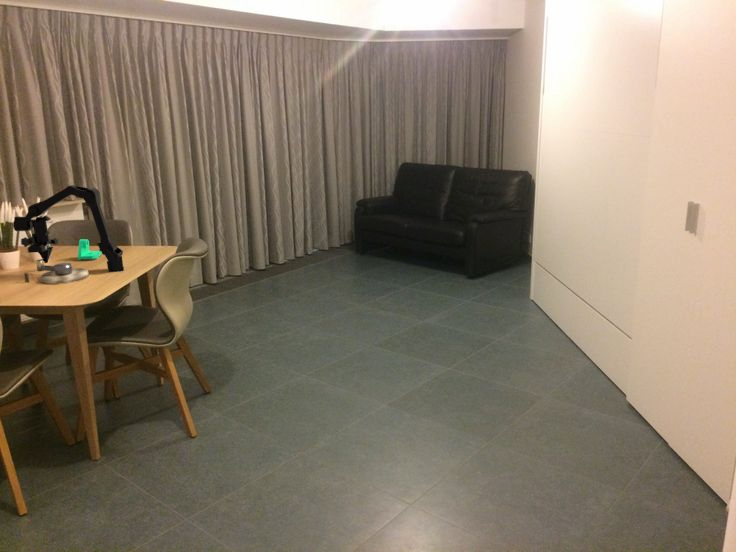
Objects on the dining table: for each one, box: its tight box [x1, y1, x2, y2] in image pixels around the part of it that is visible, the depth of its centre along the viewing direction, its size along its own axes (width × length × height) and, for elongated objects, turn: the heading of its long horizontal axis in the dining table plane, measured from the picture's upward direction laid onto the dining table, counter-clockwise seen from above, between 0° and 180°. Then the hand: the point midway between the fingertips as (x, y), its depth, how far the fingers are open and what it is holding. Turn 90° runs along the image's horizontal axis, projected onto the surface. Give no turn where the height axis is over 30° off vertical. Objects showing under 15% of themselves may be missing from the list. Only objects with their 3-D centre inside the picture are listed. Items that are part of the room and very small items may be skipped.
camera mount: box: [77, 238, 103, 260], centre depth 297 cm, size 12×8×10 cm, turn 4°
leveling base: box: [23, 267, 90, 285], centre depth 260 cm, size 26×20×4 cm
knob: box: [35, 258, 73, 275], centre depth 261 cm, size 17×7×6 cm, turn 78°
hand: (46, 262), depth 269 cm, fingers closed
